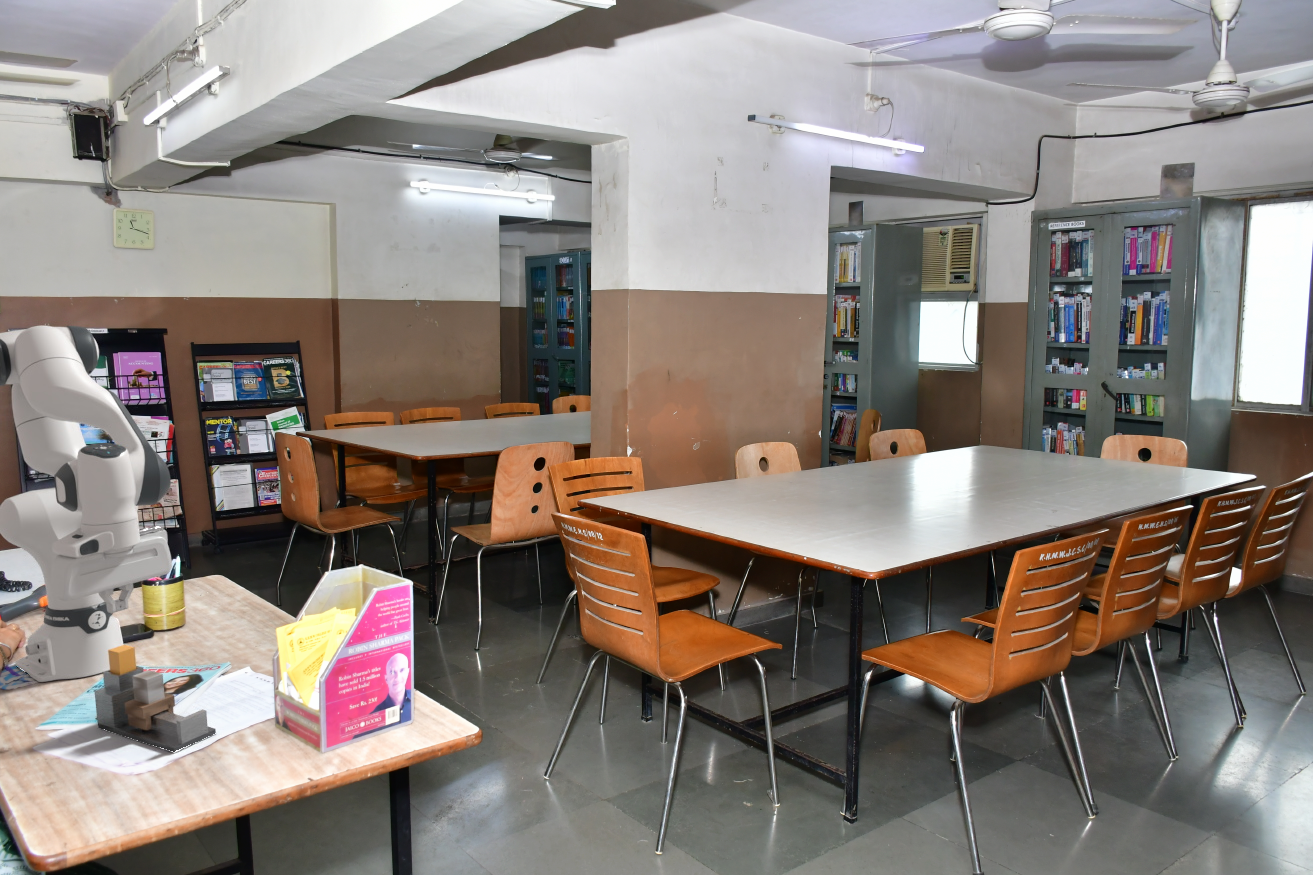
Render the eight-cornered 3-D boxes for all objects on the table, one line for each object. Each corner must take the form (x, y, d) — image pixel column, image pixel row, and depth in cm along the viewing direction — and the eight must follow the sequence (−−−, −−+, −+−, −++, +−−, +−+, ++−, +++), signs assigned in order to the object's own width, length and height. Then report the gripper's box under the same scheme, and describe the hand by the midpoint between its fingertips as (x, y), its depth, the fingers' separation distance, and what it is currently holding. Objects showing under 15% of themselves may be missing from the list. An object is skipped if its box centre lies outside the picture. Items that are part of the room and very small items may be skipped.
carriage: (126, 725, 165) (122, 678, 164) (158, 712, 170) (154, 666, 169) (144, 731, 163) (140, 683, 161) (176, 717, 168) (172, 671, 167)
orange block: (110, 676, 168) (108, 649, 167) (126, 670, 171) (124, 644, 170) (120, 679, 167) (118, 652, 166) (136, 673, 169) (134, 647, 169)
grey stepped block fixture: (97, 727, 168) (92, 674, 166) (140, 710, 175) (135, 659, 173) (174, 753, 158) (169, 696, 156) (215, 733, 165) (211, 680, 163)
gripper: (154, 521, 176) (160, 592, 178) (41, 546, 158) (49, 624, 160) (176, 525, 173) (182, 597, 175) (63, 550, 155) (71, 630, 157)
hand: (118, 610), depth 167 cm, fingers closed
